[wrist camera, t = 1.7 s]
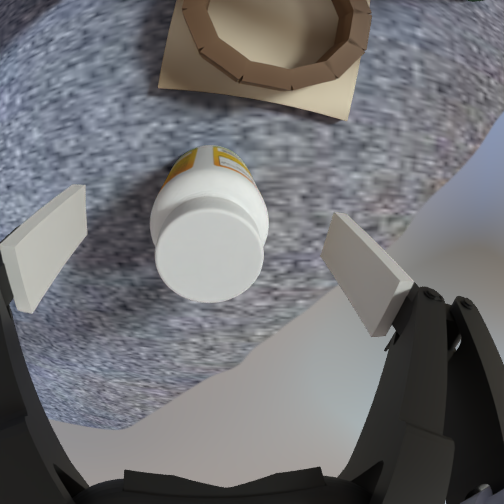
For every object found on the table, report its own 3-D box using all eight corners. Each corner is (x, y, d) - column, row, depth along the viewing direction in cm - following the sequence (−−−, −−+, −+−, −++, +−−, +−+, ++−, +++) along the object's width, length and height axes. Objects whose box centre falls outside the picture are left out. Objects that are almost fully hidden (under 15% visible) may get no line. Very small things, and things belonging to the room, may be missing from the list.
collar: (198, -60, 9) (197, -81, 7) (367, -20, 12) (388, -31, 9) (160, 88, 15) (150, 86, 12) (342, 120, 17) (362, 124, 15)
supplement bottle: (174, 224, 20) (152, 322, 11) (164, 148, 17) (120, 198, 9) (251, 217, 20) (281, 310, 12) (248, 141, 17) (284, 183, 9)
